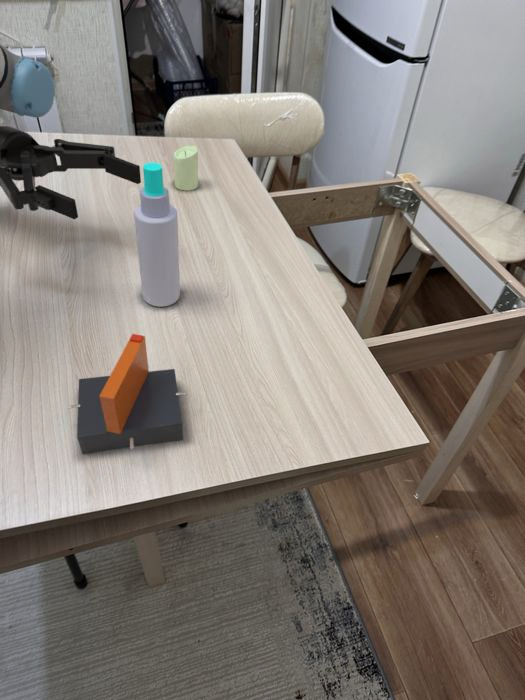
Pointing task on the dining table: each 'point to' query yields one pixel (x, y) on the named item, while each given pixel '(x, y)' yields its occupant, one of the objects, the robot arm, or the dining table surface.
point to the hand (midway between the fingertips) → (108, 191)
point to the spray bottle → (157, 240)
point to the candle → (186, 168)
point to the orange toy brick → (124, 384)
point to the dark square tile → (131, 414)
